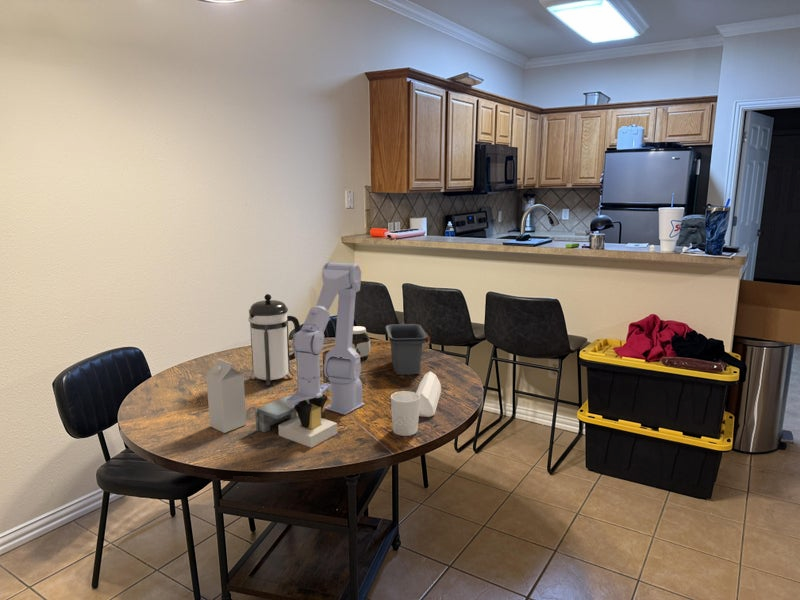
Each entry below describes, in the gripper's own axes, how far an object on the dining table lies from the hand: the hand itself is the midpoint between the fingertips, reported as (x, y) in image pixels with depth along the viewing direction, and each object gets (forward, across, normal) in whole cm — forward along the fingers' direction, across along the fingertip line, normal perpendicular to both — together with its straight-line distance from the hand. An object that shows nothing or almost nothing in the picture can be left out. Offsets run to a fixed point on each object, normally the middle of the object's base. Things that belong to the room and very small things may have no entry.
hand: (310, 423), depth 144 cm
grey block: (+3, 0, +10) cm, 11 cm away
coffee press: (+3, +25, +42) cm, 49 cm away
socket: (+3, 0, +1) cm, 3 cm away
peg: (+2, 0, 0) cm, 2 cm away
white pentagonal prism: (+4, +37, -13) cm, 39 cm away
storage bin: (+4, +61, +10) cm, 62 cm away
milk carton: (+3, -9, +23) cm, 25 cm away
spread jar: (+4, +58, +33) cm, 67 cm away
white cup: (+3, +17, -19) cm, 26 cm away
